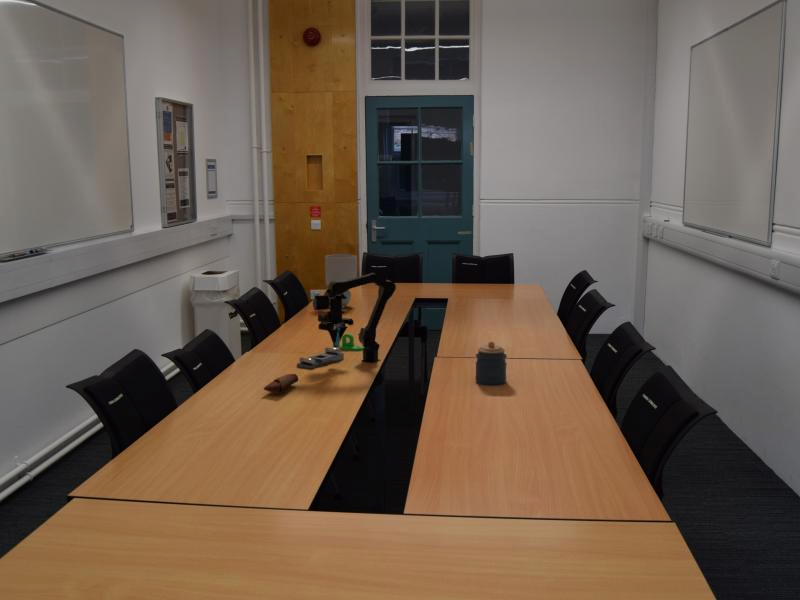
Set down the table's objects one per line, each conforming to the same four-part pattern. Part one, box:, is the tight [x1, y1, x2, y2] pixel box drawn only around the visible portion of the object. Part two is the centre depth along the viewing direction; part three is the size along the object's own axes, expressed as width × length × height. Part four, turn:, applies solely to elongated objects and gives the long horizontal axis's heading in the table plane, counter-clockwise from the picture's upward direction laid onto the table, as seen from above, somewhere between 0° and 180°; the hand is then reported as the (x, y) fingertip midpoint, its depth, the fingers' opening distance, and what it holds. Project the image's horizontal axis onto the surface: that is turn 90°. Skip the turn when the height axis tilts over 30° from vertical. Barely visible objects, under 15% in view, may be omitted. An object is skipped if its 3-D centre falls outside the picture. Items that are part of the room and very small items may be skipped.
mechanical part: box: [338, 333, 365, 352], centre depth 402 cm, size 12×6×8 cm, turn 70°
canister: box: [474, 341, 508, 387], centre depth 338 cm, size 13×13×18 cm
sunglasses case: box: [263, 373, 299, 395], centre depth 330 cm, size 18×7×7 cm
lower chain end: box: [296, 357, 334, 370], centre depth 371 cm, size 8×16×4 cm, turn 145°
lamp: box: [324, 254, 358, 307], centre depth 518 cm, size 20×20×35 cm
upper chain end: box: [307, 346, 345, 363], centre depth 378 cm, size 8×16×5 cm, turn 145°
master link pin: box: [332, 327, 341, 349], centre depth 370 cm, size 4×4×9 cm
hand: (336, 342), depth 370 cm, fingers closed on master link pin, 3 cm apart
